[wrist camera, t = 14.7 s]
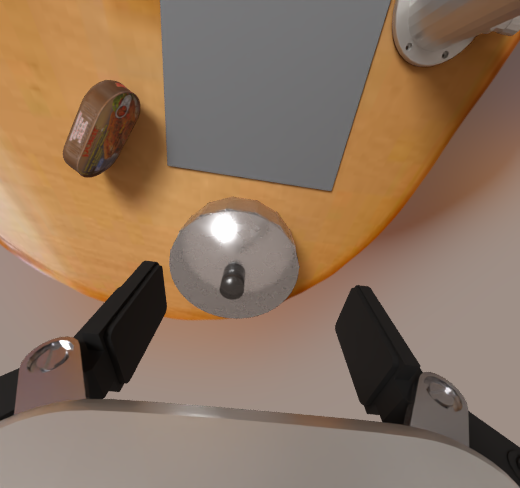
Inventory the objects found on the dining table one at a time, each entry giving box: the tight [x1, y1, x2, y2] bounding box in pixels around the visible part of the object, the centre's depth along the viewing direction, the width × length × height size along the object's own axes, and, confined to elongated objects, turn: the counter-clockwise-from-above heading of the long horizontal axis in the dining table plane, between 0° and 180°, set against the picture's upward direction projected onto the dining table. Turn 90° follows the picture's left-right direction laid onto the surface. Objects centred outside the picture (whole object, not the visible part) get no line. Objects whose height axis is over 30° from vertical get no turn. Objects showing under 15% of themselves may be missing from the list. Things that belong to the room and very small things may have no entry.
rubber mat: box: [160, 0, 391, 191], centre depth 33 cm, size 30×26×1 cm
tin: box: [63, 80, 140, 177], centre depth 32 cm, size 15×3×8 cm, turn 139°
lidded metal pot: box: [169, 197, 299, 318], centre depth 41 cm, size 24×24×13 cm
